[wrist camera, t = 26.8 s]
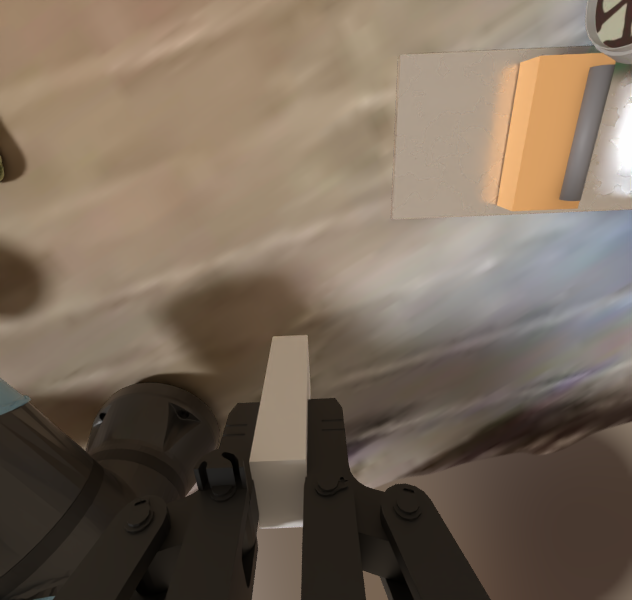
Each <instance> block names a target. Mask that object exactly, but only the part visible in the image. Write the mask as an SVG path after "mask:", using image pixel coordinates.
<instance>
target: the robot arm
mask: <svg viewBox="0 0 632 600" xmlns="http://www.w3.org/2000/svg"><path fill="white" fill-rule="evenodd" d="M30 400H31V399H30V398H29V397H28V396H26V395H22V394H20V393H19V392H18V391H16V390H15V389H14V388H13V387H11V386H10V385H9V384H7V383H6V382H5V381H4V380H2V379H1V378H0V600H252V592H253V585H254V577H255V569H256V561H257V552H258V544H257V536H256V534H257V527H258V519H259V525H260V528H261V529H262V528H287V527H303V543H302V587H301V589H302V590H301V600H366V597H365V588H364V579H363V572H362V571H366V572H369V573H372V574H375V575H378V576H380V578H381V581H382V583H383V586H384V589H385V591H386V594H387V597H388V599H389V600H491V599H490V598H489V596H488V594H487V593H486V591H485V589H484V588H483V586H482V584H481V583H480V581H479V579H478V578H477V576H476V574H475V573H474V571H473V569H472V568H471V566H470V564H469V563H468V561H467V559H466V558H465V556H464V554H463V553H462V551H461V549H460V548H459V546H458V544H457V543H456V541H455V539H454V538H453V536H452V534H451V533H450V531H449V529H448V528H447V526H446V524H445V523H444V521H443V519H442V518H441V516H440V514H439V513H438V511H437V509H436V508H435V506H434V504H433V503H432V501H431V499H430V498H429V497H428V496H427V495H426V494H425V492H424V491H422V490H420V489H419V488H417V487H415V486H412V485H408V484H395V485H394V486H392V487H389V488H388V489H387V490H386V491H385V492H383V491H379V490H375V489H372V488H369V487H366V486H364V485H363V484H361V483H359V482H358V481H357V480H356V479H355V478H354V477H353V475H352V473H351V472H350V468H349V463H348V455H347V446H346V437H345V429H344V421H343V411H342V407H341V406H340V404H339V403H338V401H337V400H336V399H335V398H329V399H311V384H310V367H309V351H308V335H295V336H273V338H272V343H271V348H270V354H269V359H268V364H267V370H266V375H265V380H264V386H263V391H262V396H261V401H260V402H256V403H238V404H237V405H236V406H235V407H234V408H233V410H232V411H231V412H230V413H229V416H228V419H227V423H226V427H225V430H224V433H223V437H222V440H221V443H220V447H219V449H217V450H216V448H217V445H218V442H219V427H218V423H217V421H216V418H215V416H214V415H213V413H212V412H211V410H210V409H209V408H208V407H207V406H206V405H205V404H204V403H203V402H202V401H201V400H200V399H198V398H197V397H196V396H194V395H193V394H191V393H189V392H187V391H185V390H183V389H180V388H178V387H175V386H171V385H167V384H161V383H140V384H134V385H131V386H128V387H125V388H123V389H121V390H119V391H117V392H116V393H114V394H113V395H112V396H111V397H110V398H109V399H108V400H107V402H106V403H105V404H104V406H103V407H102V408H101V410H100V411H99V412H98V414H97V416H96V418H95V420H94V423H93V426H92V429H91V433H90V437H89V440H88V444H87V448H86V451H85V450H83V449H82V448H81V447H80V446H79V445H78V444H77V443H75V442H74V441H73V440H72V439H71V438H70V437H68V436H67V435H66V434H65V433H64V432H63V431H61V430H60V429H59V428H58V427H57V426H56V425H55V424H53V423H52V422H51V421H50V420H49V419H48V418H47V417H46V416H45V415H43V414H42V413H41V412H40V411H39V410H38V409H37V408H36V407H35V406H33V405H32V404H31V403H30V402H29V401H30ZM196 482H197V486H198V489H199V490H198V491H196V492H195V493H193V494H191V495H189V496H187V497H185V496H186V495H187V494H188V492H189V491H190V490H191V488H192V487H193V486H194V485H195V483H196Z"/></svg>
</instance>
